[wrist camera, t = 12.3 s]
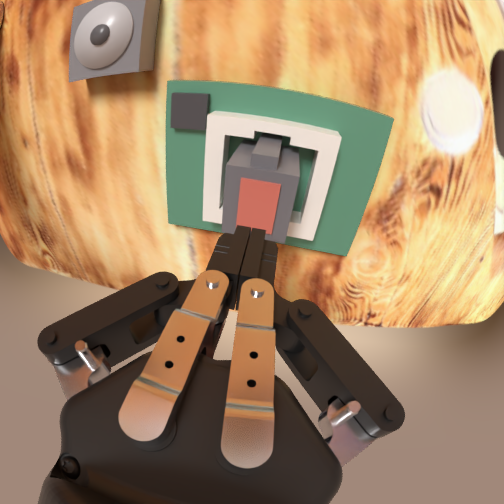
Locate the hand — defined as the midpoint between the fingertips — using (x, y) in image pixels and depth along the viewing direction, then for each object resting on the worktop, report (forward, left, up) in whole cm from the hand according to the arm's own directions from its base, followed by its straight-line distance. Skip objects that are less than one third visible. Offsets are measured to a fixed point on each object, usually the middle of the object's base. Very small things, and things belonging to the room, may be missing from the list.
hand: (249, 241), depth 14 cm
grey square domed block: (-15, +12, -11) cm, 22 cm away
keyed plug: (0, 0, -10) cm, 10 cm away
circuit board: (0, 0, -11) cm, 11 cm away
